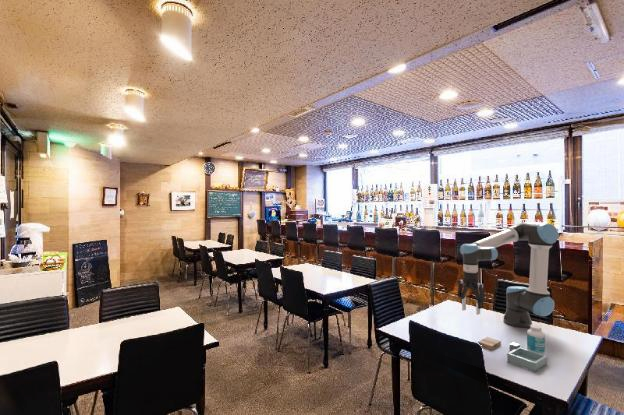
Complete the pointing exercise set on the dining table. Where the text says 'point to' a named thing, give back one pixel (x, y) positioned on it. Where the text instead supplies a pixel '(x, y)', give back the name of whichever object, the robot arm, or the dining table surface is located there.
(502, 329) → the dining table surface
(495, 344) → the flat wooden block
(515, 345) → the bench dog
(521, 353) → the tray
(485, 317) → the dining table surface
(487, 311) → the dining table surface
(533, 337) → the pill bottle
